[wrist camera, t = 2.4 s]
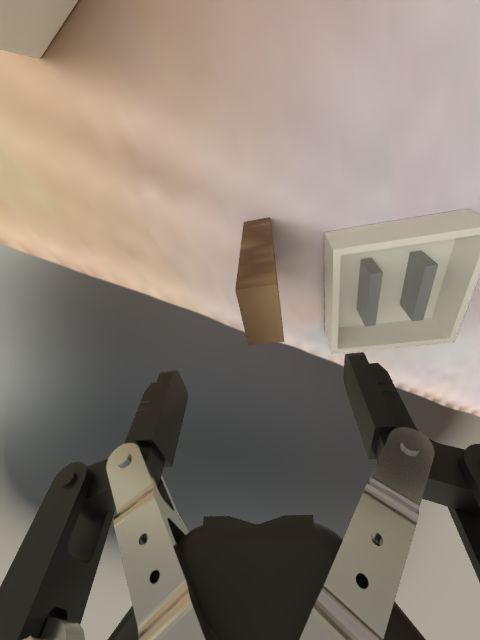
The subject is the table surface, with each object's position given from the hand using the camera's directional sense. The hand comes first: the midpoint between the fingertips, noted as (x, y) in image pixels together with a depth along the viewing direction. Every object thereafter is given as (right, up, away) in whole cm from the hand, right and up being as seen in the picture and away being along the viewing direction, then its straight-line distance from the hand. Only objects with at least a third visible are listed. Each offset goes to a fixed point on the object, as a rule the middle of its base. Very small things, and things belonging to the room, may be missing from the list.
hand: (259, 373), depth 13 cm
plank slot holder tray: (+14, +7, +15) cm, 21 cm away
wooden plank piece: (+1, +10, +13) cm, 17 cm away
